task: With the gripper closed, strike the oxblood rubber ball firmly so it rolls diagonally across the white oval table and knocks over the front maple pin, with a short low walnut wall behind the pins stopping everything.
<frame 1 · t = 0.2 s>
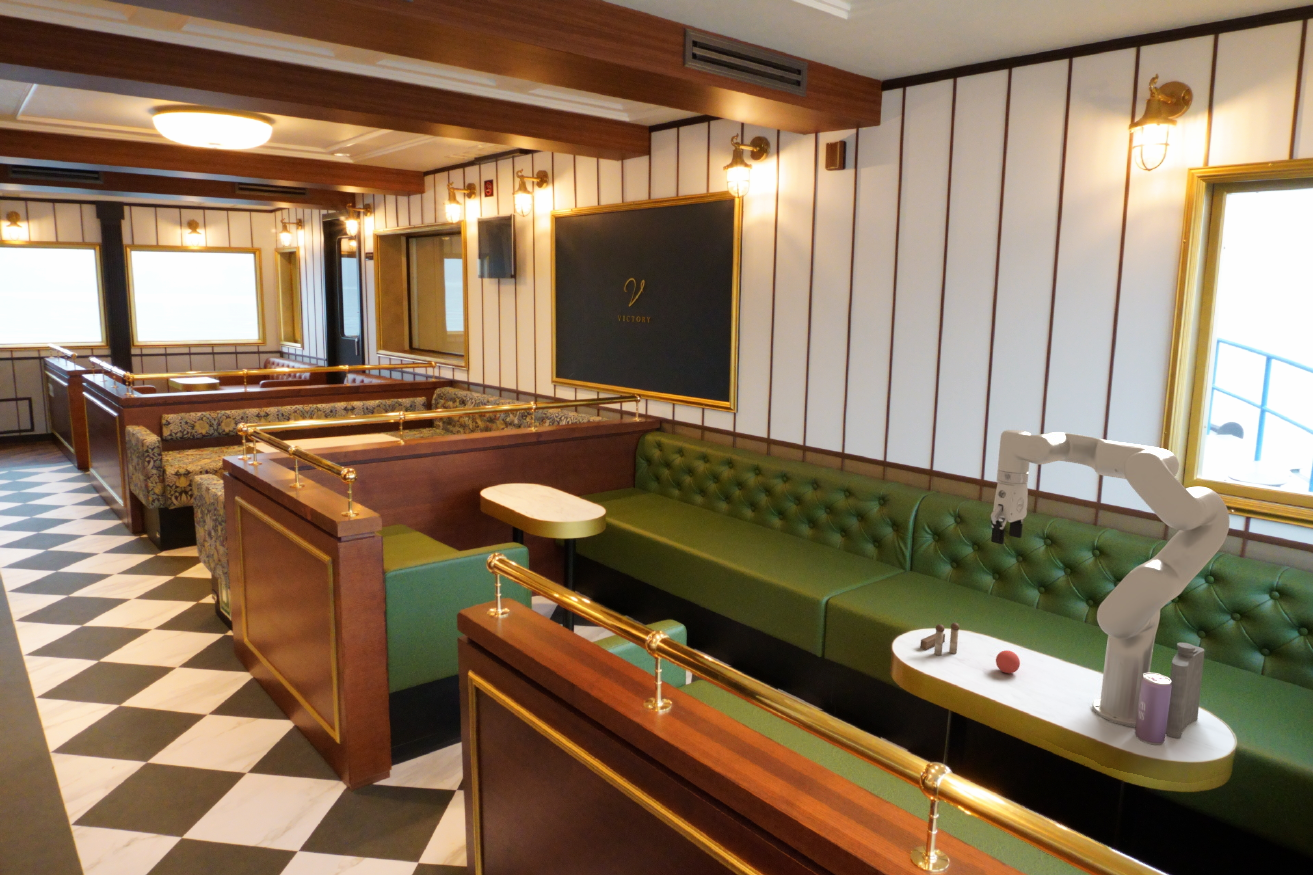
hand: (1006, 539, 217), 36 cm above the table, tool pointing down, fingers open, 9 cm apart
stopper wall: (932, 644, 238), on the table
front pin: (952, 652, 233), on the table
ball: (1007, 661, 220), on the table
back pin: (937, 654, 232), on the table
hip flask: (1179, 725, 194), on the table
beverage can: (1149, 739, 188), on the table
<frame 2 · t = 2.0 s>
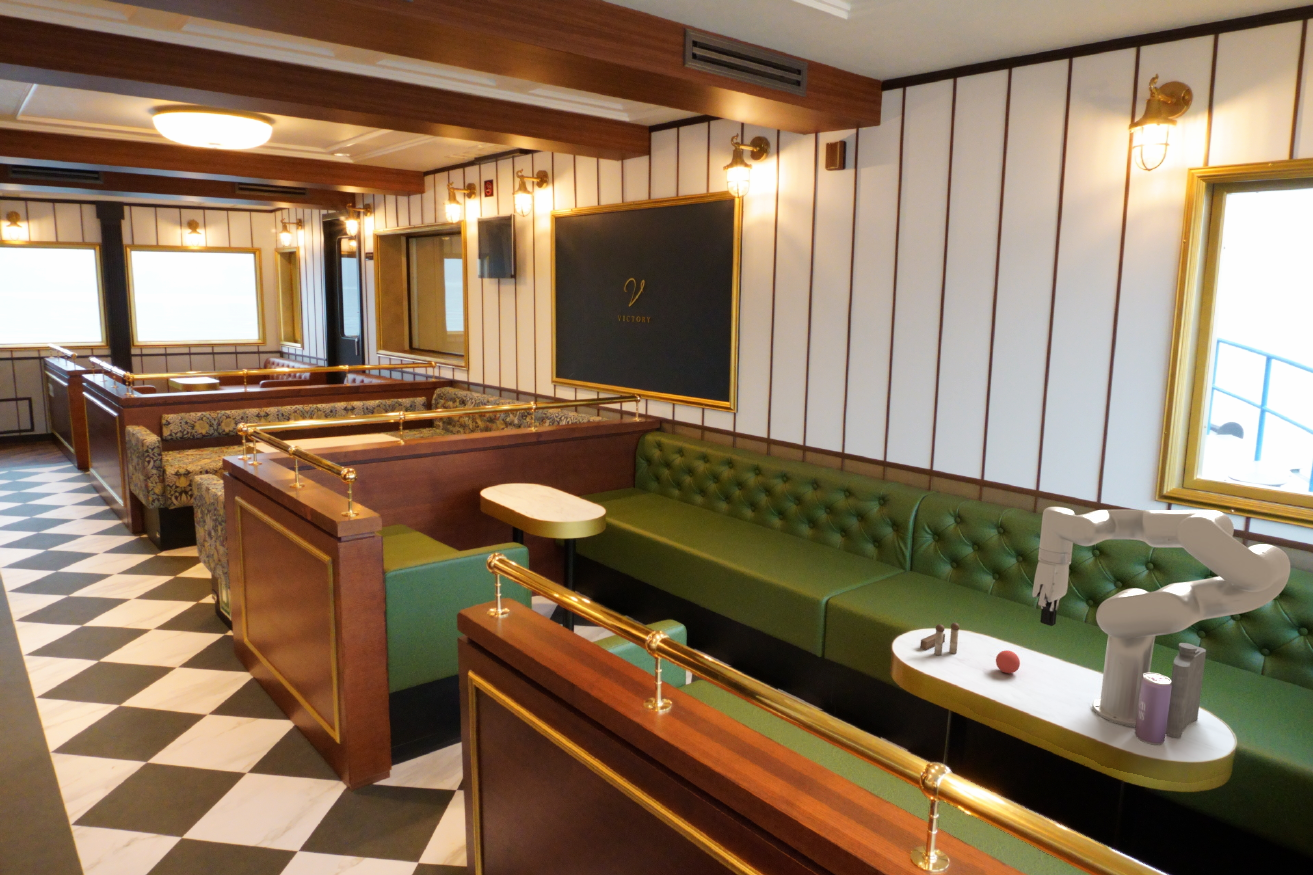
hand: (1047, 623, 211), 17 cm above the table, tool pointing down, fingers closed
nothing on the table moved.
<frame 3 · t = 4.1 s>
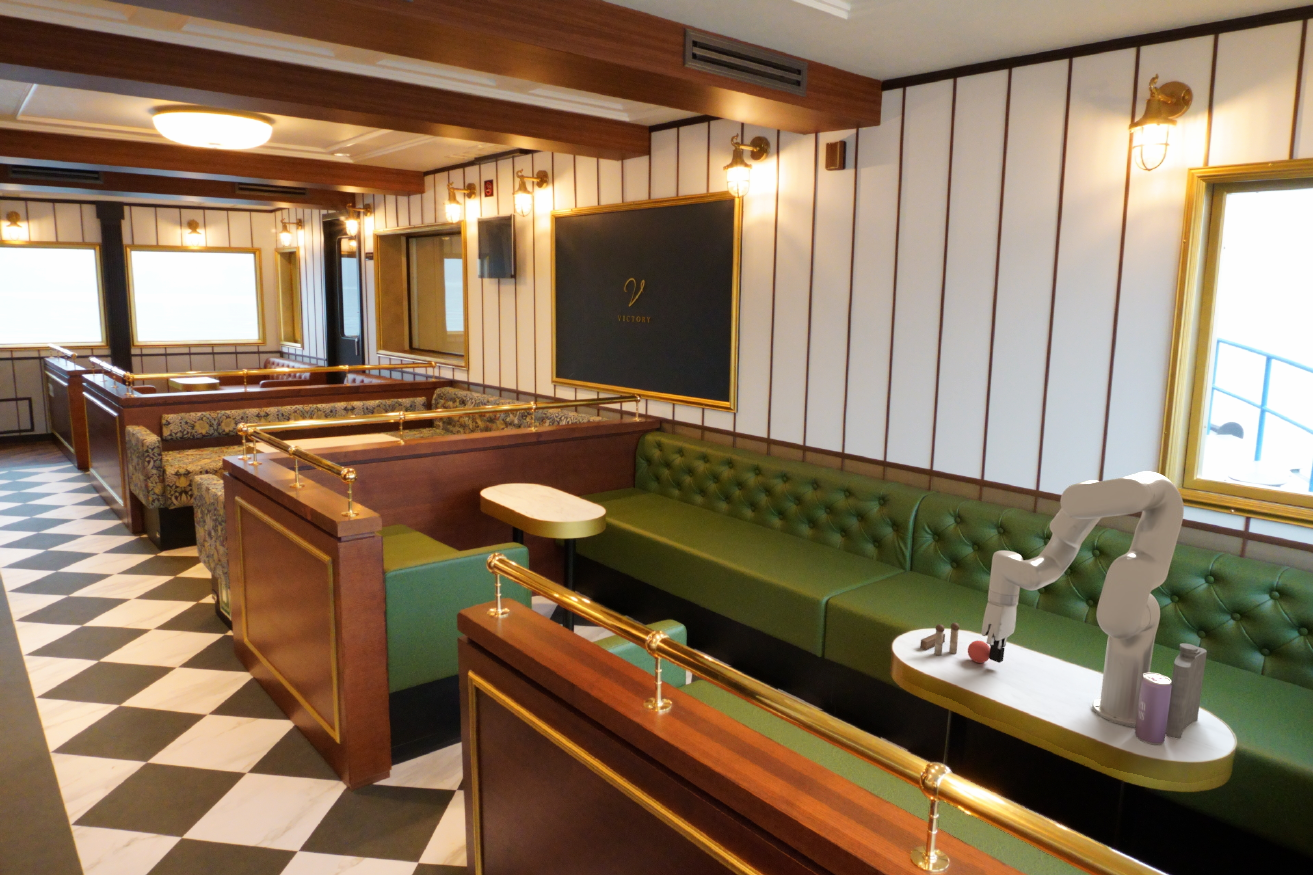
hand: (995, 660, 223), 2 cm above the table, tool pointing down, fingers closed
ball: (979, 651, 227), on the table
everything else where it was.
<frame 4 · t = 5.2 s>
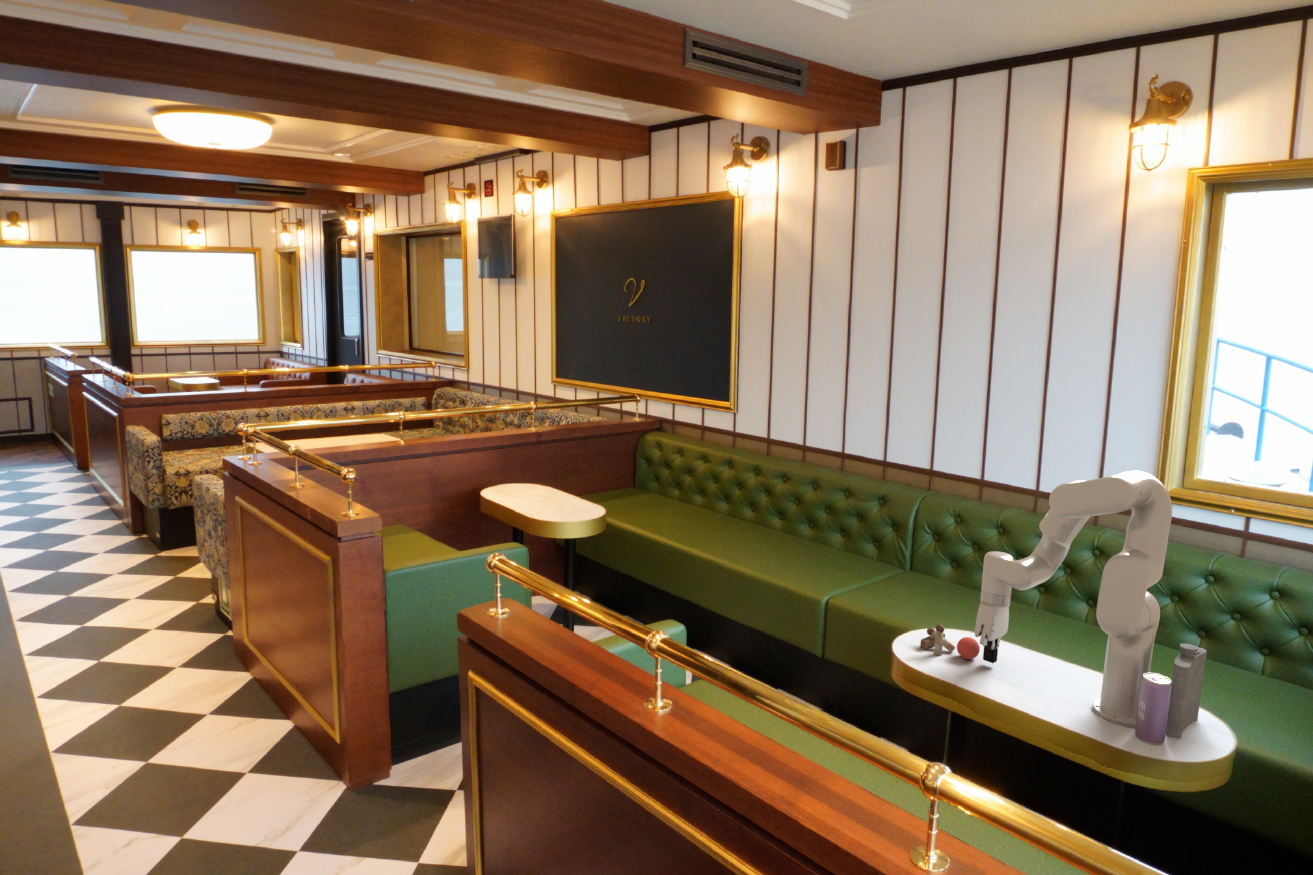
hand: (989, 660, 224), 2 cm above the table, tool pointing down, fingers closed
front pin: (953, 649, 233), point 1 cm above the table, tilted 64°, touching stopper wall
ball: (968, 648, 229), on the table
everything else where it was.
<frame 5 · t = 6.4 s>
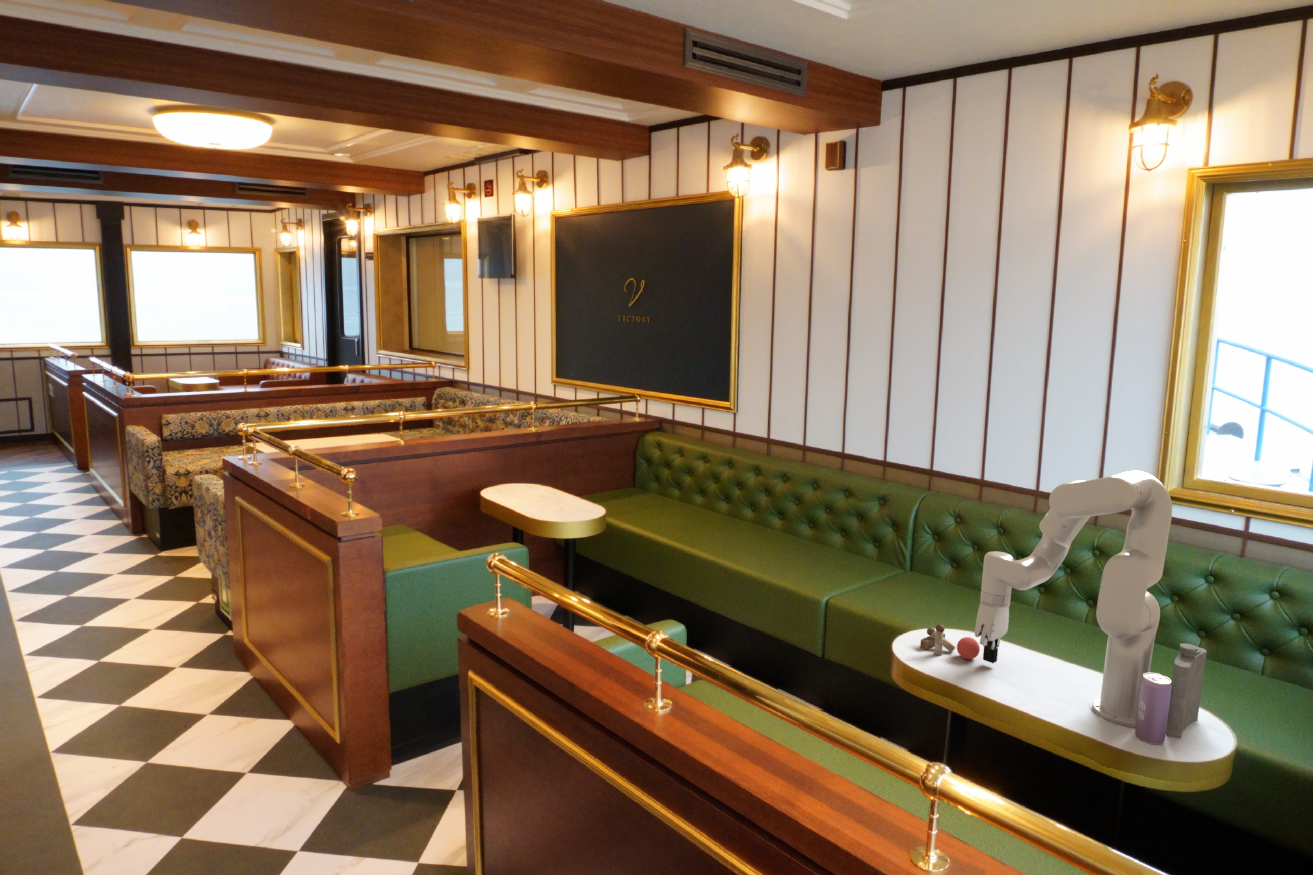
hand: (989, 660, 224), 2 cm above the table, tool pointing down, fingers closed
nothing on the table moved.
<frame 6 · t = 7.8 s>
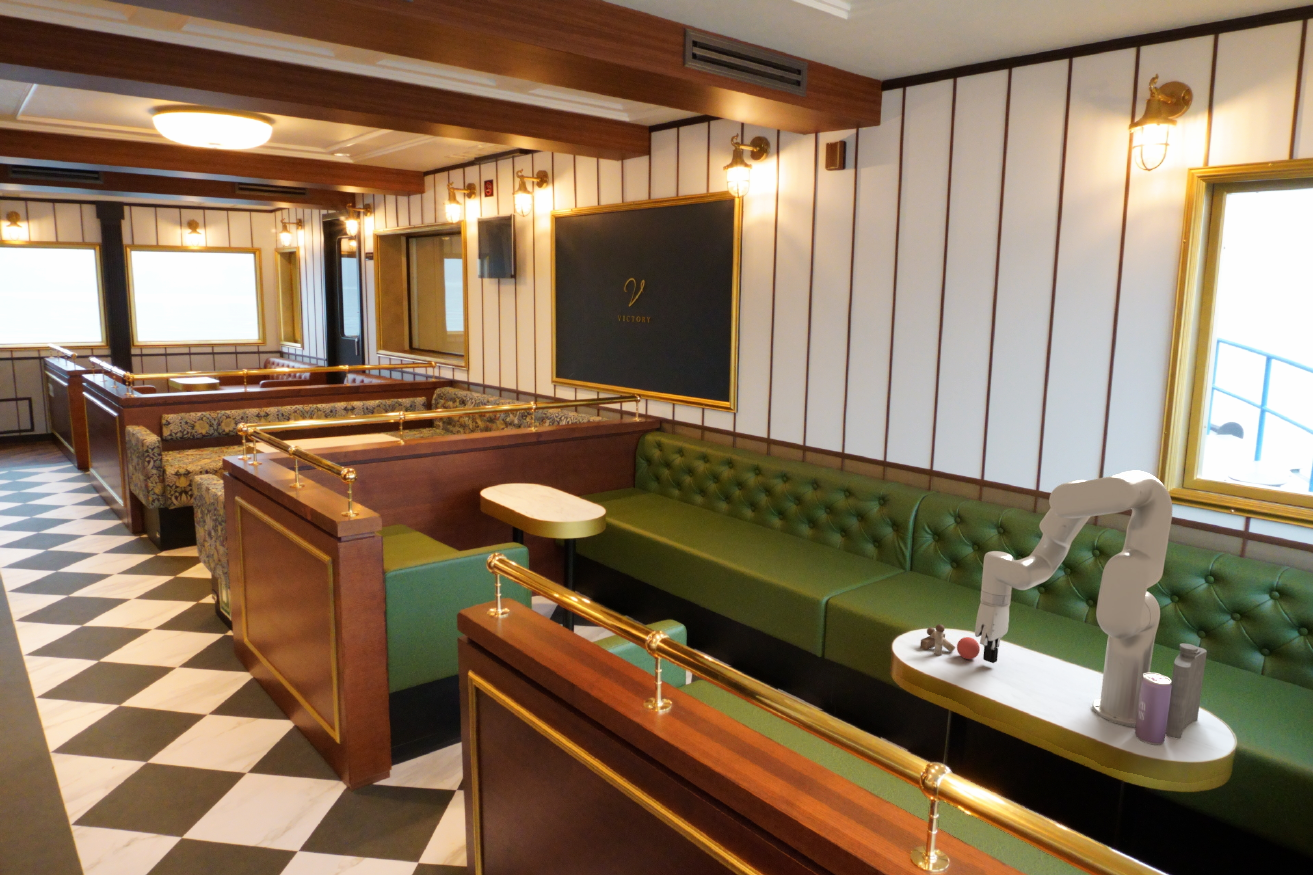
hand: (990, 660, 224), 2 cm above the table, tool pointing down, fingers closed
nothing on the table moved.
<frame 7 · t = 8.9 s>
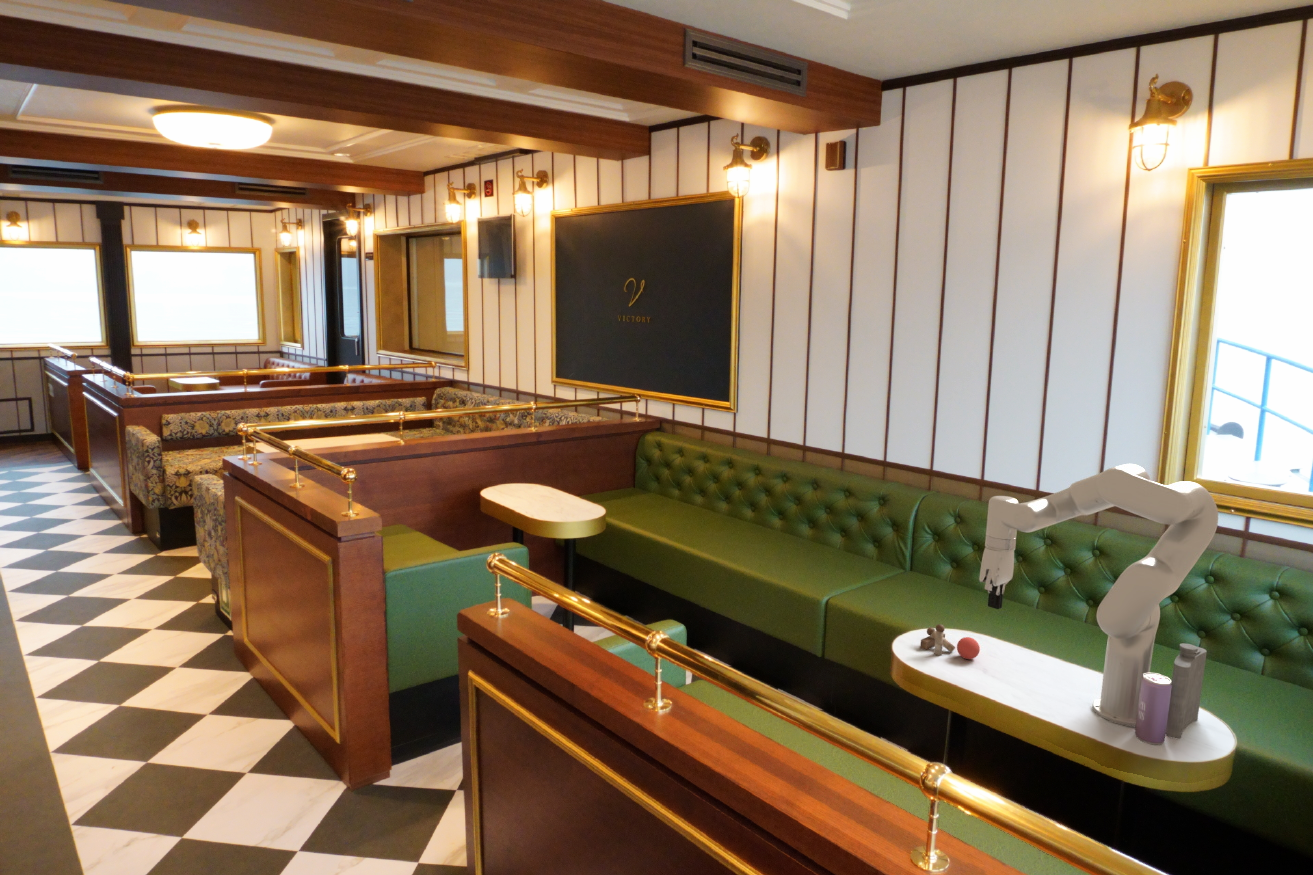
hand: (994, 607, 222), 17 cm above the table, tool pointing down, fingers closed
nothing on the table moved.
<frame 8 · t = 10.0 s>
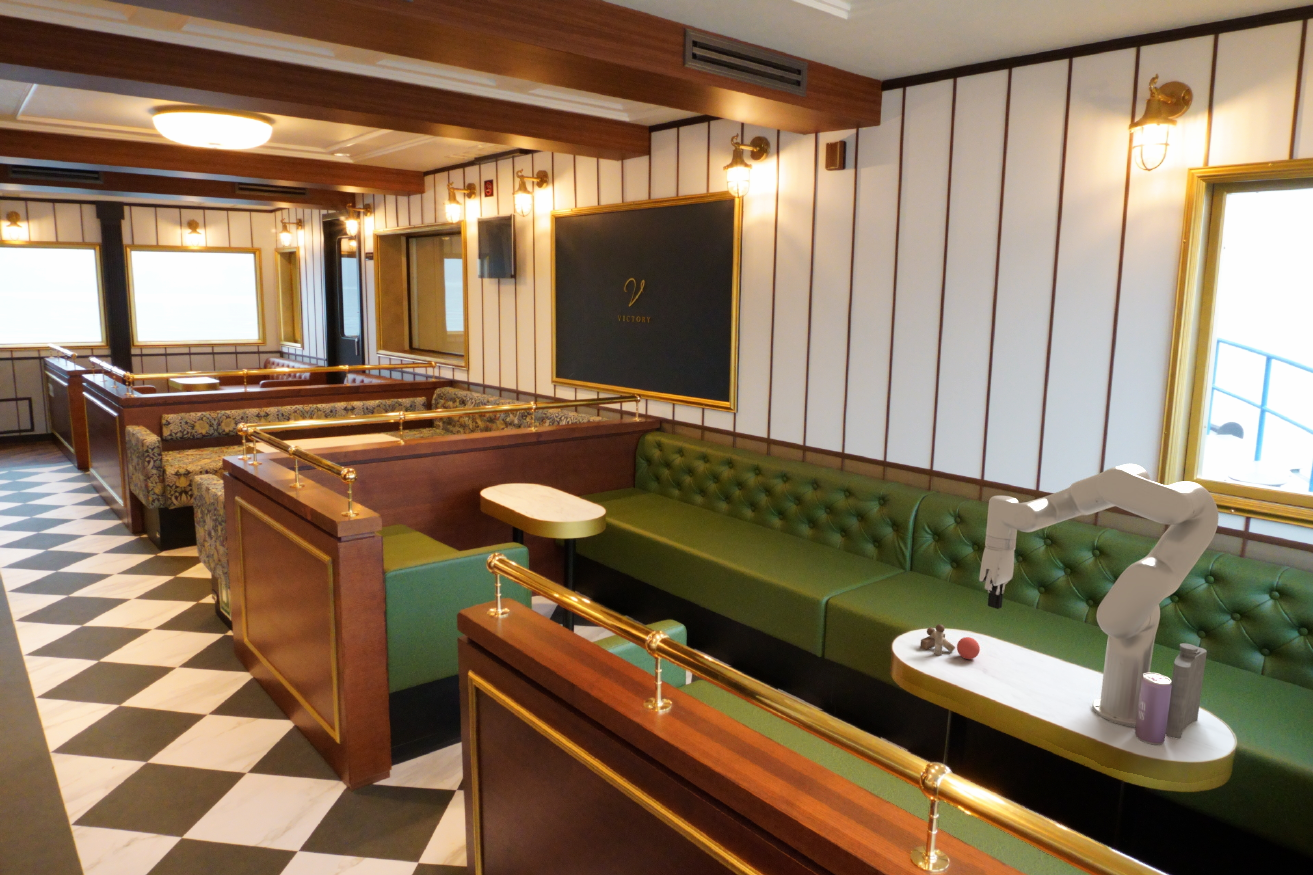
hand: (994, 606, 222), 17 cm above the table, tool pointing down, fingers closed
nothing on the table moved.
at the end: front pin tilted 64°; front pin never touched the robot; ball moved 11.4 cm from its start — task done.
